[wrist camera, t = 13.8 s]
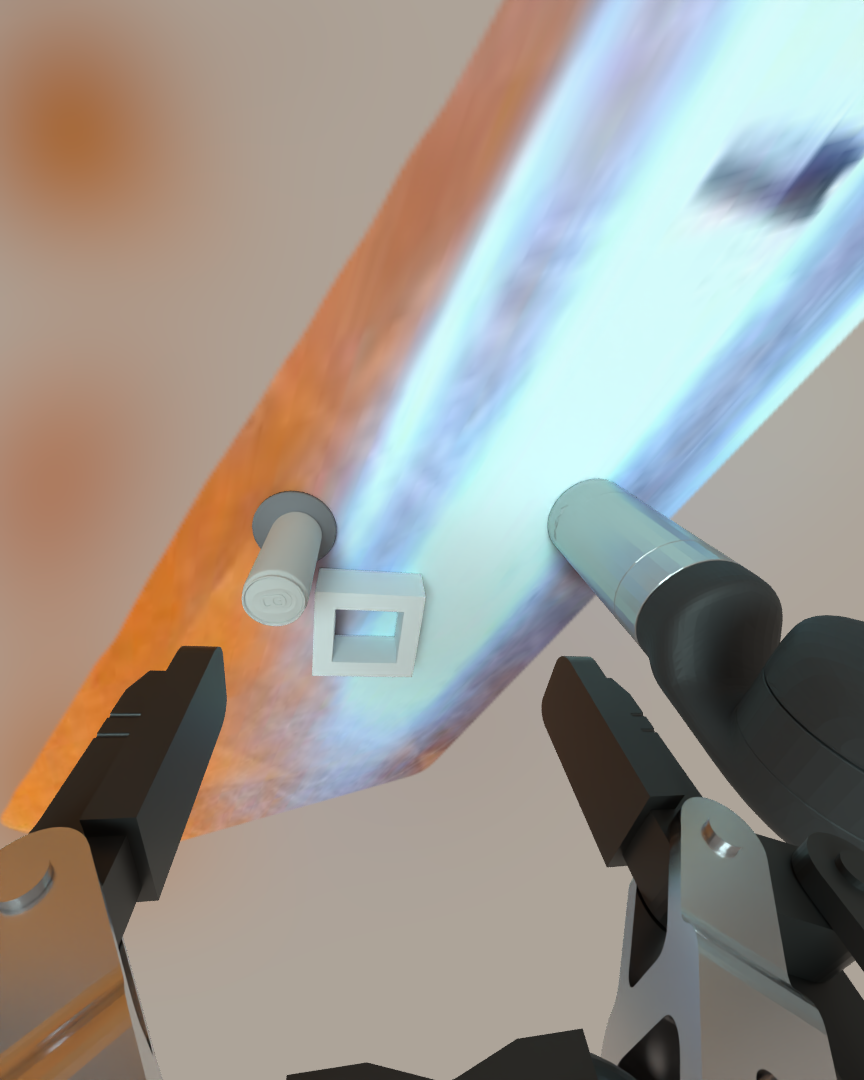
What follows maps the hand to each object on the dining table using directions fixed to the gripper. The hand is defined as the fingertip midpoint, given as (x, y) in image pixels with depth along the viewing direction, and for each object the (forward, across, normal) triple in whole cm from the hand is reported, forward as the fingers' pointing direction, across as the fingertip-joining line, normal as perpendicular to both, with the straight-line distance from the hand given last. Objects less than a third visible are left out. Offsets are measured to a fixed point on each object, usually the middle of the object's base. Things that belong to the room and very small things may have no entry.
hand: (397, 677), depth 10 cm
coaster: (+32, +7, +12) cm, 35 cm away
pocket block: (+32, -1, +22) cm, 39 cm away
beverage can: (+32, +7, +12) cm, 35 cm away
